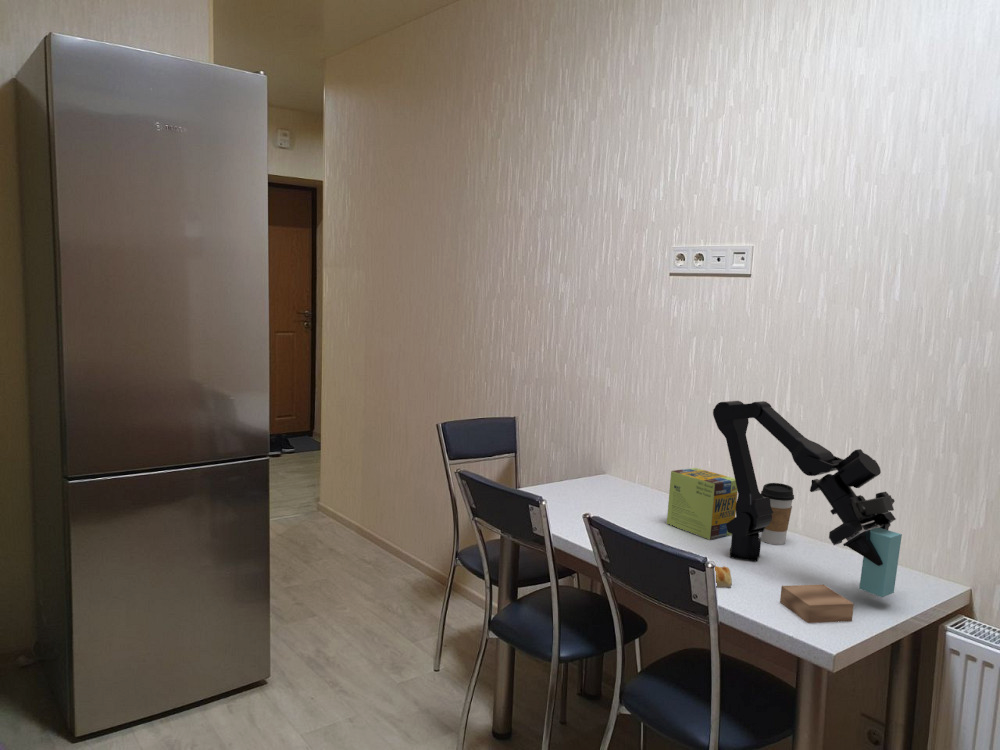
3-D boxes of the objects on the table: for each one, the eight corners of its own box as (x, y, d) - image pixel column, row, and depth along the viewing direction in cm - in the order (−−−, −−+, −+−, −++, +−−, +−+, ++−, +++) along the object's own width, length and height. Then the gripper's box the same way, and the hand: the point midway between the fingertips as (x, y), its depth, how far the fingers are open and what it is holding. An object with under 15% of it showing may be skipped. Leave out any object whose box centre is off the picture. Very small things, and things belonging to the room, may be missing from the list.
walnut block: (779, 603, 161) (781, 585, 160) (821, 602, 163) (823, 584, 163) (807, 624, 151) (809, 605, 151) (851, 622, 153) (853, 603, 153)
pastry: (691, 587, 167) (692, 570, 167) (684, 576, 174) (685, 560, 174) (733, 589, 167) (735, 572, 167) (724, 578, 174) (726, 562, 174)
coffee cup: (793, 540, 203) (798, 486, 201) (785, 548, 196) (790, 492, 194) (761, 533, 207) (766, 480, 206) (752, 541, 200) (757, 486, 199)
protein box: (710, 540, 199) (715, 483, 198) (665, 524, 212) (670, 470, 210) (735, 534, 206) (739, 479, 204) (690, 519, 218) (694, 466, 216)
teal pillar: (859, 588, 163) (866, 530, 161) (870, 584, 166) (878, 527, 164) (882, 597, 159) (890, 537, 157) (893, 592, 162) (901, 534, 160)
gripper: (849, 485, 157) (897, 553, 150) (891, 475, 168) (938, 537, 161) (809, 511, 164) (853, 577, 157) (853, 500, 175) (896, 561, 168)
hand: (887, 562), depth 160 cm, fingers closed on teal pillar, 5 cm apart
